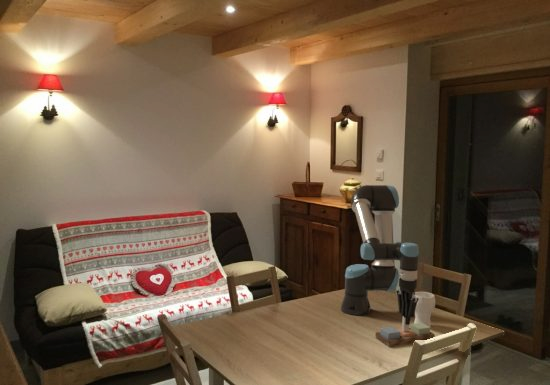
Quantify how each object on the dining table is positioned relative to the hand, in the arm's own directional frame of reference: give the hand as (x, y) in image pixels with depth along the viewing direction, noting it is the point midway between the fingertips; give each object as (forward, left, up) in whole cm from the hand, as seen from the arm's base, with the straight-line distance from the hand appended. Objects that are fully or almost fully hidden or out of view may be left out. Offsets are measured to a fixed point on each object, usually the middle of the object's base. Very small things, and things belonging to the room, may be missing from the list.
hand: (405, 330), depth 215 cm
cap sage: (0, +8, -2) cm, 8 cm away
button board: (0, 0, -4) cm, 4 cm away
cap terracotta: (0, 0, -3) cm, 3 cm away
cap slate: (0, -8, -2) cm, 8 cm away
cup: (-11, +18, -4) cm, 22 cm away
